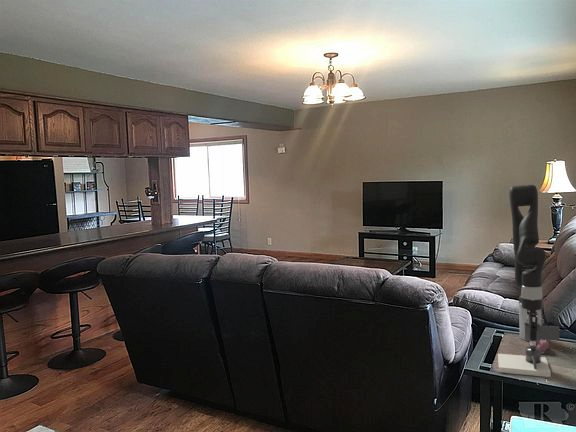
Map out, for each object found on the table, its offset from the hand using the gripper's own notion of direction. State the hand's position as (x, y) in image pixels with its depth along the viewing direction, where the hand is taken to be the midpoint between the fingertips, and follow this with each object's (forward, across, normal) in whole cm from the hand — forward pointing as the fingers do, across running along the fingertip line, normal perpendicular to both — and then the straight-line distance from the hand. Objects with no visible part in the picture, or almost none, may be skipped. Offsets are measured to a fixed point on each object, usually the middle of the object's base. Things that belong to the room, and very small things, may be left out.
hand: (532, 337), depth 187 cm
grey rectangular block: (+1, 0, +3) cm, 3 cm away
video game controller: (+12, -20, +4) cm, 23 cm away
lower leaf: (+10, +3, 0) cm, 10 cm away
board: (+12, +2, -4) cm, 13 cm away
